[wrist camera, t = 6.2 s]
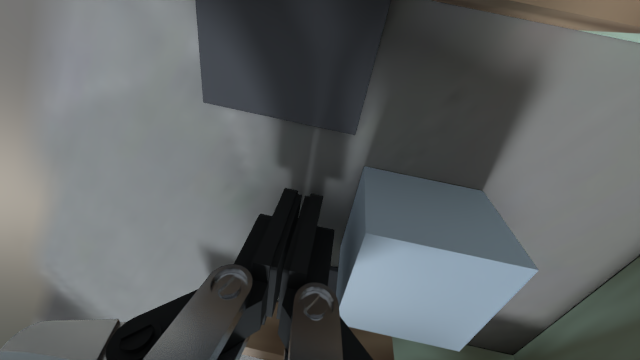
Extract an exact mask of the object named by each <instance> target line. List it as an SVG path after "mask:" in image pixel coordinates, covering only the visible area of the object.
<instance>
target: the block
mask: <svg viewBox="0 0 640 360" xmlns="http://www.w3.org/2000/svg"><path fill="white" fill-rule="evenodd" d="M537 271H538V268H537V267H536V266H535V264H534V263H533V261H532V260H531V259H530V257H529V256H528V254H527V253H526V251H525V250H524V249H523V247H522V246H521V244H520V243H519V242H518V240H517V239H516V237H515V236H514V234H513V233H512V232H511V230H510V229H509V227H508V226H507V225H506V223H505V222H504V220H503V219H502V217H501V216H500V215H499V213H498V212H497V210H496V209H495V208H494V206H493V205H492V203H491V202H490V200H489V199H488V198H487V196H486V195H485V193H484V192H483V191H481V190H476V189H471V188H466V187H461V186H456V185H452V184H447V183H442V182H437V181H432V180H428V179H423V178H418V177H413V176H408V175H404V174H399V173H394V172H389V171H384V170H380V169H375V168H370V167H365V166H364V169H363V172H362V176H361V179H360V182H359V186H358V189H357V193H356V196H355V199H354V203H353V206H352V210H351V213H350V216H349V220H348V223H347V226H346V230H345V233H344V237H343V240H342V243H341V247H340V256H339V267H338V278H337V289H336V297H337V299H338V303H339V313H340V317H341V318H342V319H343V321H344V322H345V323H346V325H347V326H348V327H352V328H356V329H361V330H365V331H370V332H374V333H379V334H383V335H387V336H392V337H396V338H401V339H405V340H410V341H414V342H419V343H423V344H428V345H432V346H436V347H441V348H445V349H450V350H454V351H460V350H461V349H462V348H463V347H464V346H465V345H466V344H467V343H468V342H469V341H470V340H471V339H472V338H473V337H474V336H475V335H476V334H477V333H478V332H479V331H480V330H481V329H482V328H483V327H484V326H485V325H486V324H487V323H488V322H489V321H490V320H491V319H492V317H493V316H494V315H495V314H496V313H497V312H498V311H499V310H500V309H501V308H502V307H503V306H504V305H505V304H506V303H507V302H508V301H509V300H510V299H511V298H512V297H513V296H514V295H515V294H516V293H517V292H518V291H519V290H520V289H521V288H522V287H523V286H524V285H525V284H526V283H527V282H528V281H529V280H530V279H531V278H532V277H533V276H534V275H535V274H536V272H537Z"/></svg>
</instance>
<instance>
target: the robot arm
mask: <svg viewBox="0 0 640 360" xmlns="http://www.w3.org/2000/svg"><path fill="white" fill-rule="evenodd" d="M301 197H302V195H299V194H298V191H297V190H292V189H287V188H285V189H284V191H283V194H282V196H281V198H280V200H279V203H278V205H277V207H276V209H275V212H274V214H273V216H268V215H264V214H260V215H259V217H258V218H257V220H256V222H255V224H254V226H253V228H252V230H251V232H250V234H249V236H248V238H247V240H246V242H245V244H244V246H243V248H242V250H241V251H240V253H239V255H238V257H237V259H236V261H235V263H234V264H231V265H225V266H221V267H219V268H218V269H216V270H214V271H213V272H212V273H211V274H210V275H209V276H208V278H207V279H206V280H205V281H204V283H203V284H202V285H201V286H200V288H199V289H198V290H195V291H193V292H191V293H189V294H186V295H184V296H182V297H180V298H177V299H175V300H173V301H171V302H168V303H166V304H164V305H162V306H159V307H157V308H155V309H153V310H150V311H148V312H146V313H144V314H141V315H139V316H137V317H135V318H133V319H131V320H129V321H128V322H119V320H118V319H97V320H49V321H43V322H38V323H35V324H33V325H31V326H28V327H26V328H25V329H23V330H21V331H20V332H18V333H17V334H15V335H14V336H13V337H12V338H11V339H10V340H9V341H8V342H7V343H6V344H5V345H4V346H3V347H2V349H1V350H0V360H239V359H240V357H241V355H242V353H243V351H244V349H245V347H246V345H247V343H248V341H249V338H250V335H252V334H254V333H255V332H257V331H259V330H260V328H261V325H264V324H265V321H266V318H267V317H271V318H272V316H273V313H274V310H275V306H276V303H277V299H278V296H279V302H278V309H277V316H276V319H280V321H279V327H278V335H279V337H280V339H281V341H282V342H283V344H284V346H285V349H284V360H373V358H372V357H371V356H370V355H369V353H368V352H367V351H366V349H365V348H364V347H363V345H362V344H361V343H360V342H359V340H358V339H357V338H356V336H355V335H354V334H353V332H352V331H351V330H350V328H349V327H348V326H347V325H346V323H345V322H344V321H343V319H342V318H341V317H340V313H339V303H338V299H337V297H336V295H335V293H334V292H333V291H332V290H331V289H330V288H329V287H328V279H329V271H330V263H331V255H332V246H333V238H334V230H332V229H328V228H323V227H319V226H317V223H318V219H319V214H320V209H321V204H322V199H323V196H320V195H315V194H311V195H310V197H309V196H305V199H304V202H303V205H302V208H301V212H300V215H299V210H300V204H301ZM298 216H299V218H298ZM279 293H280V294H279Z"/></svg>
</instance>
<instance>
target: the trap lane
mask: <svg viewBox="0 0 640 360" xmlns="http://www.w3.org/2000/svg"><path fill="white" fill-rule="evenodd" d="M432 1H437V2H442V3H447V4H452V5H457V6H462V7H466V8H471V9H476V10H481V11H486V12H491V13H496V14H501V15H506V16H511V17H515V18H520V19H525V20H530V21H535V22H540V23H545V24H550V25H555V26H560V27H564V28H569V29H574V30H579V31H584V32H589V33H594V34H599V35H604V36H609V37H614V38H618V39H623V40H628V41H633V42H638V43H640V0H432ZM277 309H278V301H277V303H276V306H275V310H274V313H273V316H272V318H271V317H267V318H266V321H265V324H264V325H261V328H260V330H259V331H257V332H255V333H254V334H252V335H250V338H249V341H248V343H247V345H246V347H245V349H244V351H243V353H242V354H243V355H247V356H251V357H256V358H260V359H264V360H284V349H285V346H284V344H283V342H282V341H281V339H280V337H279V335H278V327H279V321H280V319H276V316H277ZM349 328H350V330H351V331H352V332H353V334H354V335H355V336H356V338H357V339H358V340H359V342H360V343H361V344H362V345H363V347H364V348H365V349H366V351H367V352H368V353H369V355H370V356H371V357H372V358H373V360H640V257H638V258H637V259H636V260H635V261H633V262H632V263H631V264H629V265H628V266H627V267H626V268H624V269H623V270H622V271H621V272H619V273H618V274H617V275H615V276H614V277H613V278H612V279H610V280H609V281H608V282H606V283H605V284H604V285H603V286H601V287H600V288H599V289H597V290H596V291H595V292H594V293H592V294H591V295H590V296H589V297H587V298H586V299H585V300H583V301H582V302H581V303H580V304H578V305H577V306H576V307H574V308H573V309H572V310H571V311H569V312H568V313H567V314H566V315H564V316H563V317H562V318H560V319H559V320H558V321H557V322H555V323H554V324H553V325H551V326H550V327H549V328H548V329H546V330H545V331H544V332H542V333H541V334H540V335H539V336H537V337H536V338H535V339H534V340H532V341H531V342H530V343H528V344H527V345H526V346H525V347H523V348H522V349H521V350H519V351H518V352H517V353H516V354H514V355H508V354H504V353H500V352H495V351H491V350H487V349H482V348H478V347H474V346H469V345H465V346H464V347H463V348H462V349H461V350H460V351H454V350H450V349H445V348H441V347H436V346H432V345H428V344H423V343H419V342H414V341H410V340H405V339H401V338H396V337H392V336H387V335H383V334H379V333H374V332H370V331H365V330H361V329H356V328H352V327H349Z"/></svg>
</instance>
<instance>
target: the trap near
mask: <svg viewBox="0 0 640 360" xmlns="http://www.w3.org/2000/svg"><path fill="white" fill-rule="evenodd" d="M195 1H196V14H197V26H198V39H199V52H200V65H201V78H202V91H203V102H204V103H209V104H213V105H218V106H223V107H227V108H232V109H237V110H241V111H246V112H250V113H255V114H260V115H264V116H269V117H274V118H278V119H283V120H288V121H292V122H297V123H301V124H306V125H311V126H315V127H320V128H325V129H329V130H334V131H339V132H343V133H348V134H353V135H355V134H356V130H357V126H358V122H359V119H360V115H361V111H362V107H363V104H364V100H365V96H366V92H367V89H368V85H369V81H370V77H371V74H372V70H373V66H374V62H375V59H376V55H377V51H378V47H379V44H380V40H381V36H382V32H383V28H384V25H385V21H386V17H387V13H388V10H389V6H390V2H391V0H195Z"/></svg>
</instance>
